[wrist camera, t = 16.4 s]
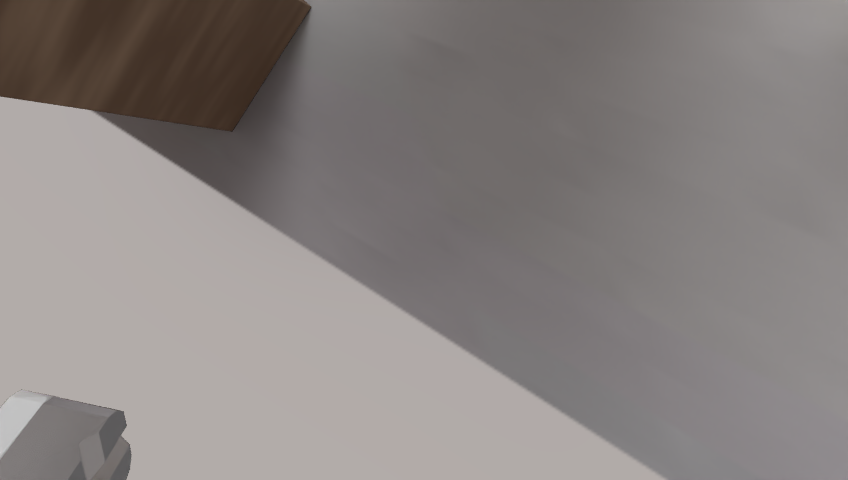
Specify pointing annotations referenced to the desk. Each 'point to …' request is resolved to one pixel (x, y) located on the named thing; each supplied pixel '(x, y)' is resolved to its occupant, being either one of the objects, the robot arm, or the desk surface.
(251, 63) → the pedestal
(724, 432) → the desk surface
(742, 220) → the desk surface
